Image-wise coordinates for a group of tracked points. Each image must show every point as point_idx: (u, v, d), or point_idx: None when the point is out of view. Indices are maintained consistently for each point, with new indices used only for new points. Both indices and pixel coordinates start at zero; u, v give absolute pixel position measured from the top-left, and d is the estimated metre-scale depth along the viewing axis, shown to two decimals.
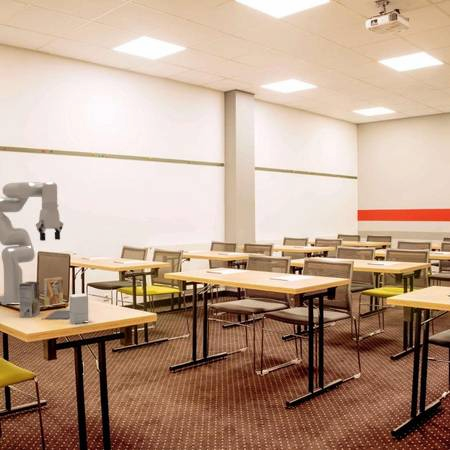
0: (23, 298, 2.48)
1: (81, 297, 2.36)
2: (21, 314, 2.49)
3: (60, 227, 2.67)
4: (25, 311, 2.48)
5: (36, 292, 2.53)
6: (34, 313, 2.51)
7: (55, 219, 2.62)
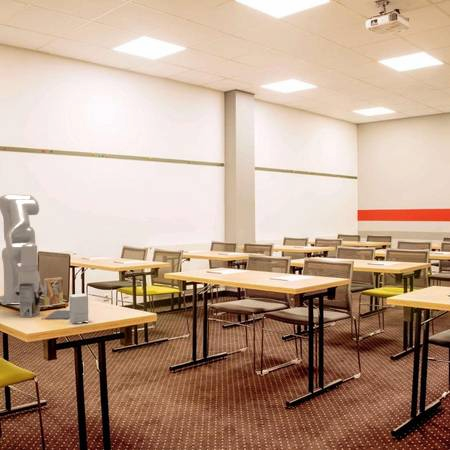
0: (23, 298, 2.48)
1: (81, 297, 2.36)
2: (21, 314, 2.49)
3: (19, 291, 2.53)
4: (25, 311, 2.48)
5: None
6: (34, 313, 2.51)
7: None
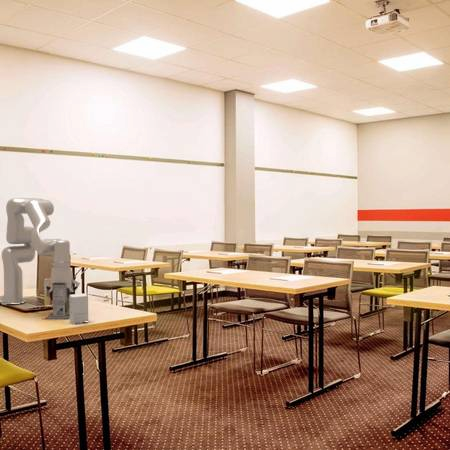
0: (56, 297, 2.48)
1: (81, 297, 2.36)
2: (54, 313, 2.49)
3: None
4: (58, 310, 2.49)
5: (68, 290, 2.53)
6: (67, 312, 2.51)
7: None
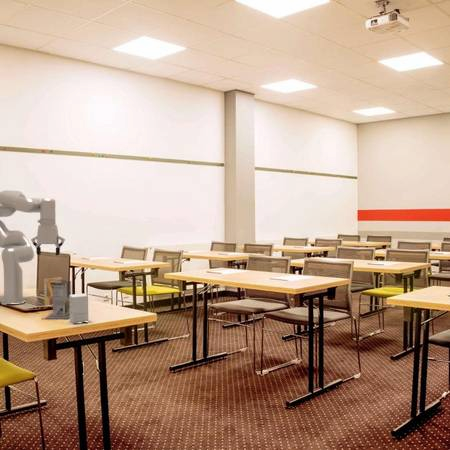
0: (56, 297, 2.48)
1: (81, 297, 2.36)
2: (54, 313, 2.49)
3: (36, 243, 2.68)
4: (58, 310, 2.49)
5: (68, 290, 2.53)
6: (67, 312, 2.51)
7: None
